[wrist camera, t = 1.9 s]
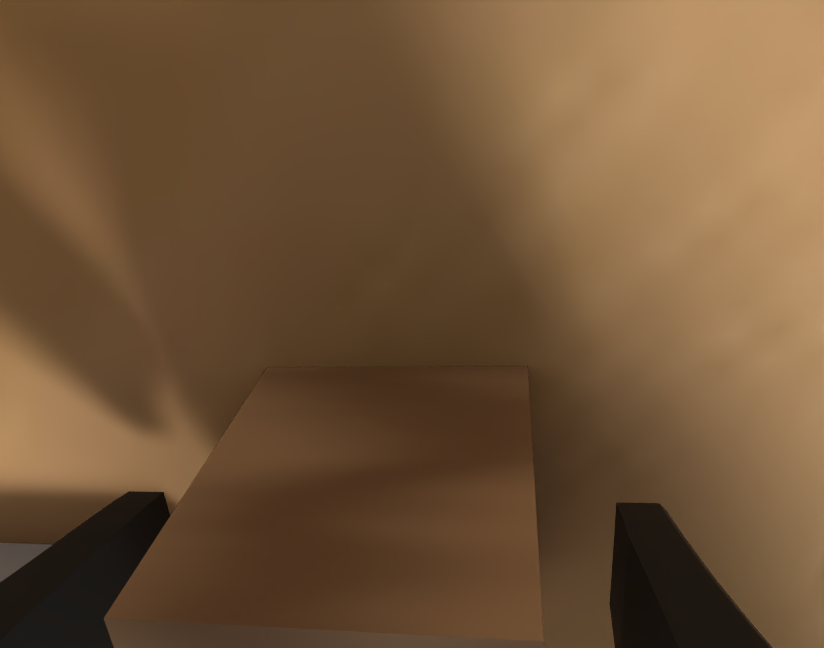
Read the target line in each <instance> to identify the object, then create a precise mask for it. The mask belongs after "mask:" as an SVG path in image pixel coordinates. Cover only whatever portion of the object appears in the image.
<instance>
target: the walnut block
mask: <svg viewBox="0 0 824 648" xmlns="http://www.w3.org/2000/svg"><path fill="white" fill-rule="evenodd" d="M104 621H105V624H106V627H107V629H108V632H109V635H110V638H111V641H112V644H113V646H114V648H544V634H543V617H542V600H541V583H540V566H539V549H538V531H537V514H536V497H535V480H534V463H533V446H532V429H531V412H530V395H529V378H528V366H474V367H267V368H266V370H265V372H264V373H263V375H262V376H261V378H260V379H259V381H258V382H257V384H256V385H255V387H254V388H253V390H252V391H251V393H250V395H249V396H248V398H247V399H246V401H245V402H244V404H243V405H242V407H241V408H240V410H239V411H238V413H237V414H236V416H235V418H234V419H233V421H232V422H231V424H230V425H229V427H228V428H227V430H226V431H225V433H224V434H223V436H222V437H221V439H220V441H219V442H218V444H217V445H216V447H215V448H214V450H213V451H212V453H211V454H210V456H209V457H208V459H207V461H206V462H205V464H204V465H203V467H202V468H201V470H200V471H199V473H198V474H197V476H196V477H195V479H194V480H193V482H192V484H191V485H190V487H189V488H188V490H187V491H186V493H185V494H184V496H183V497H182V499H181V500H180V502H179V503H178V505H177V507H176V508H175V510H174V511H173V513H172V514H171V516H170V517H169V519H168V520H167V522H166V523H165V525H164V526H163V528H162V530H161V531H160V533H159V534H158V536H157V537H156V539H155V540H154V542H153V543H152V545H151V546H150V548H149V549H148V551H147V553H146V554H145V556H144V557H143V559H142V560H141V562H140V563H139V565H138V566H137V568H136V569H135V571H134V572H133V574H132V576H131V577H130V579H129V580H128V582H127V583H126V585H125V586H124V588H123V589H122V591H121V592H120V594H119V596H118V597H117V599H116V600H115V602H114V603H113V605H112V606H111V608H110V609H109V611H108V612H107V614H106V615H105V617H104Z"/></svg>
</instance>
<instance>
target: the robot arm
mask: <svg viewBox="0 0 824 648" xmlns="http://www.w3.org/2000/svg"><path fill="white" fill-rule="evenodd" d="M169 517H170V514H169V510H168V506H167V503H166V499H165V496H164V492H128V493H126V494H125V495H123V496H121V497H120V498H118V499H117V500H115V501H114V502H112V503H111V504H109V505H108V506H106V507H105V508H103V509H102V510H101V511H99V512H98V513H96V514H95V515H94V516H92V517H91V518H89V519H88V520H86V521H85V522H84V523H82V524H81V525H80V526H78V527H77V528H75V529H74V530H73V531H71V532H70V533H68V534H67V535H66V536H64V537H63V538H62V539H60V540H59V541H57V542H56V543H55V544H53V545H52V546H50V547H49V548H48V549H46V550H45V551H43V552H42V553H41V554H39V555H38V556H37V557H35V558H34V559H32V560H31V561H30V562H28V563H27V564H25V565H24V566H23V567H21V568H20V569H18V570H17V571H16V572H14V573H13V574H11V575H10V576H9V577H7V578H6V579H4V580H3V581H1V582H0V648H114V646H113V644H112V641H111V638H110V635H109V632H108V629H107V627H106V624H105V621H104V617H105V615H106V614H107V612H108V611H109V609H110V608H111V606H112V605H113V603H114V602H115V600H116V599H117V597H118V596H119V594H120V592H121V591H122V589H123V588H124V586H125V585H126V583H127V582H128V580H129V579H130V577H131V576H132V574H133V572H134V571H135V569H136V568H137V566H138V565H139V563H140V562H141V560H142V559H143V557H144V556H145V554H146V553H147V551H148V549H149V548H150V546H151V545H152V543H153V542H154V540H155V539H156V537H157V536H158V534H159V533H160V531H161V530H162V528H163V526H164V525H165V523H166V522H167V520H168V519H169ZM610 610H611V618H612V627H613V635H614V643H615V648H772V647H771V645H770V644H769V643H768V642H767V641H766V640H765V639H764V637H763V636H762V635H761V634H760V633H759V632H758V630H757V629H756V628H755V627H754V626H753V624H752V623H751V622H750V621H749V620H748V618H747V617H746V616H745V615H744V614H743V612H742V611H741V610H740V609H739V607H738V606H737V605H736V604H735V603H734V601H733V600H732V599H731V598H730V596H729V595H728V594H727V593H726V592H725V590H724V589H723V588H722V586H721V585H720V584H719V583H718V581H717V580H716V579H715V578H714V576H713V575H712V574H711V572H710V571H709V570H708V568H707V567H706V566H705V564H704V563H703V562H702V560H701V559H700V558H699V556H698V555H697V554H696V552H695V551H694V550H693V548H692V547H691V545H690V544H689V543H688V541H687V540H686V538H685V537H684V536H683V534H682V533H681V531H680V530H679V529H678V527H677V526H676V524H675V523H674V521H673V520H672V518H671V517H670V515H669V514H668V512H667V511H666V510H665V509H664V508H663V507H662V506H661V505H660V504H656V503H617V504H616V519H615V534H614V548H613V563H612V578H611V593H610Z"/></svg>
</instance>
